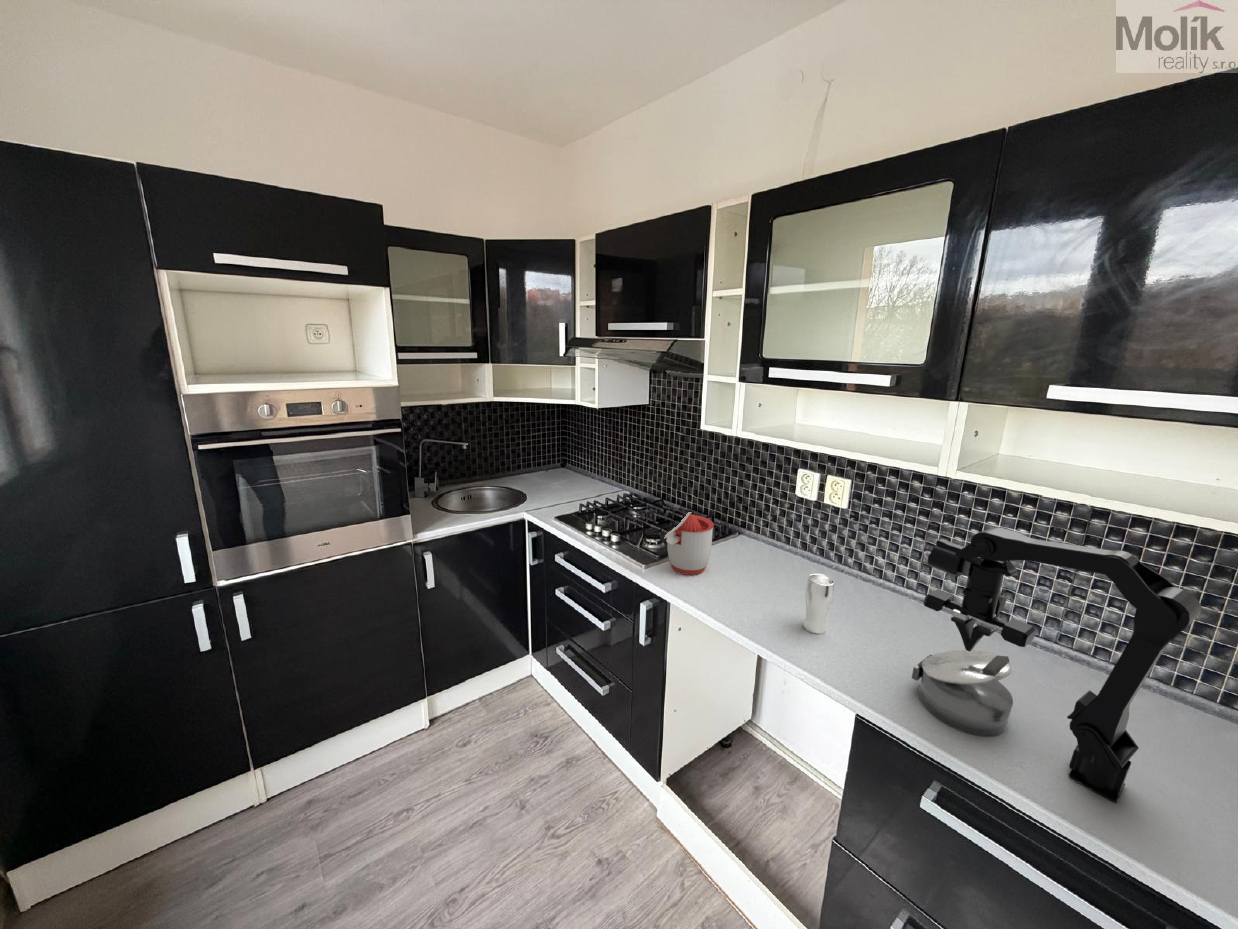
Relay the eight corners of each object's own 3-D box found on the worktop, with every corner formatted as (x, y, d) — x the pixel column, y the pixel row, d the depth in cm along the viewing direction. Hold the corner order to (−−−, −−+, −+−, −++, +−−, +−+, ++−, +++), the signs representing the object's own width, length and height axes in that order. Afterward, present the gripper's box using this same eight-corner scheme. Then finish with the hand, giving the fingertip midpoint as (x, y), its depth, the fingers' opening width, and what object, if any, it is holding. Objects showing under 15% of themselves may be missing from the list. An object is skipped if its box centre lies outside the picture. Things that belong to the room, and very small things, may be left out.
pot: (1018, 714, 104) (1024, 691, 103) (989, 749, 95) (996, 724, 94) (931, 670, 118) (936, 649, 116) (899, 697, 109) (904, 674, 107)
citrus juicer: (652, 566, 168) (654, 513, 163) (687, 554, 178) (690, 503, 173) (684, 585, 156) (687, 527, 151) (720, 570, 166) (724, 516, 161)
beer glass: (832, 635, 131) (839, 585, 127) (807, 635, 131) (813, 585, 127) (821, 620, 138) (828, 573, 134) (797, 620, 138) (803, 572, 134)
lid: (1023, 659, 102) (1020, 650, 102) (994, 690, 93) (991, 679, 93) (939, 650, 115) (937, 642, 116) (907, 676, 107) (905, 667, 107)
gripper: (1053, 594, 98) (1035, 660, 102) (951, 560, 113) (939, 618, 117) (1033, 610, 92) (1015, 680, 96) (928, 572, 107) (916, 633, 111)
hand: (968, 650), depth 105 cm, fingers closed
